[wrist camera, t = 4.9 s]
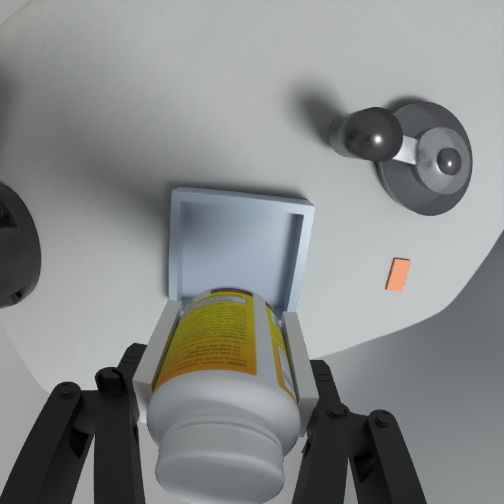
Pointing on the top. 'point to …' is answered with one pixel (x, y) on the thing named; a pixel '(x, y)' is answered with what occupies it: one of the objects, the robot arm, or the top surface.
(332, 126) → the crank
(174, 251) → the tray
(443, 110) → the crank housing
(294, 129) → the top surface
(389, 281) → the orange flat block
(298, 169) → the top surface
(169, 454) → the supplement bottle
